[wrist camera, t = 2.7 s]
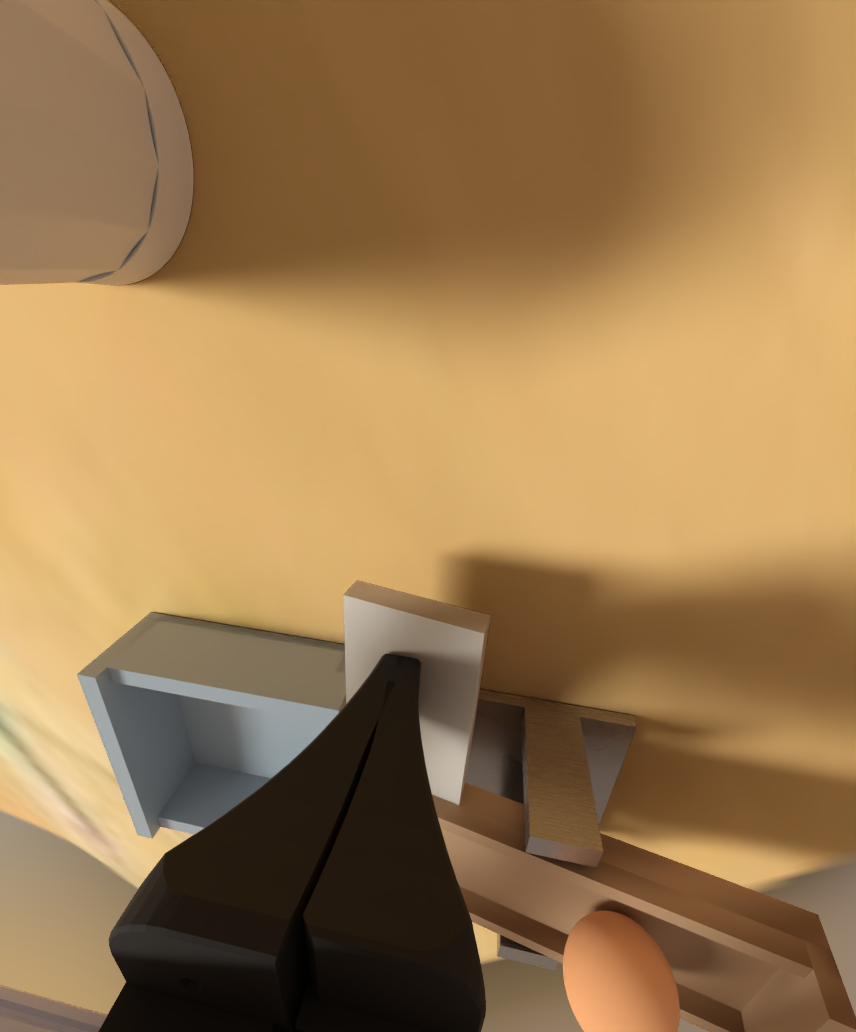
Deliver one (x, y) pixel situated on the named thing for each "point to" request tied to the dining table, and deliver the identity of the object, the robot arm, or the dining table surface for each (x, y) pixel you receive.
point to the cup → (87, 147)
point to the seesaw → (622, 868)
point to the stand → (549, 777)
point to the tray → (207, 713)
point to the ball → (618, 977)
